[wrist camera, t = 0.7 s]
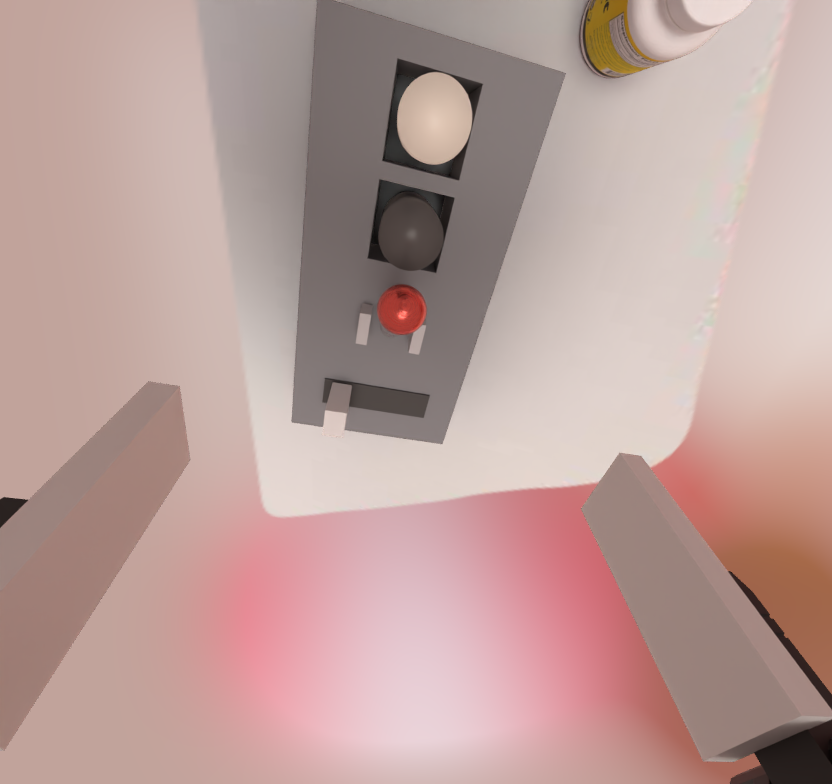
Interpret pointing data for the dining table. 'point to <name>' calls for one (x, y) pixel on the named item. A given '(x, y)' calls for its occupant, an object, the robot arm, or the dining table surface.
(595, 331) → the dining table surface
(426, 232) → the button black
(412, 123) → the button cream
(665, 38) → the supplement bottle
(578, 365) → the dining table surface
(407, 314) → the lever
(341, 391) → the slider
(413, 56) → the console
